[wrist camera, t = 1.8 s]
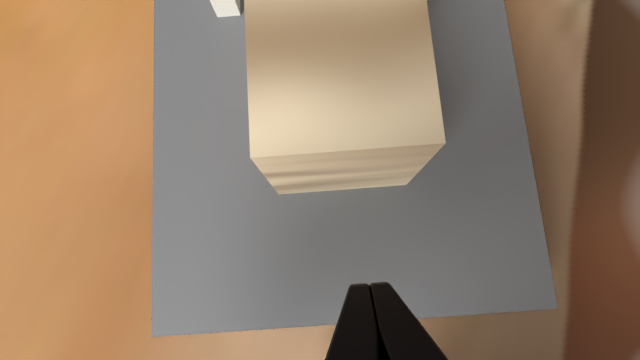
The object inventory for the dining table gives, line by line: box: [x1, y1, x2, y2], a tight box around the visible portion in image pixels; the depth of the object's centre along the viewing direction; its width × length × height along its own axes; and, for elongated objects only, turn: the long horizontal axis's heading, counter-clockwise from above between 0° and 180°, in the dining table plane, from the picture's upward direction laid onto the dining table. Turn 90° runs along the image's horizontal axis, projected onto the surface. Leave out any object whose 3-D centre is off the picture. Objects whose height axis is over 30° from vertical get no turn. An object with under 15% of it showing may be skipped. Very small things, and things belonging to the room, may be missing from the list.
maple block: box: [244, 0, 446, 194], centre depth 17 cm, size 8×6×7 cm
